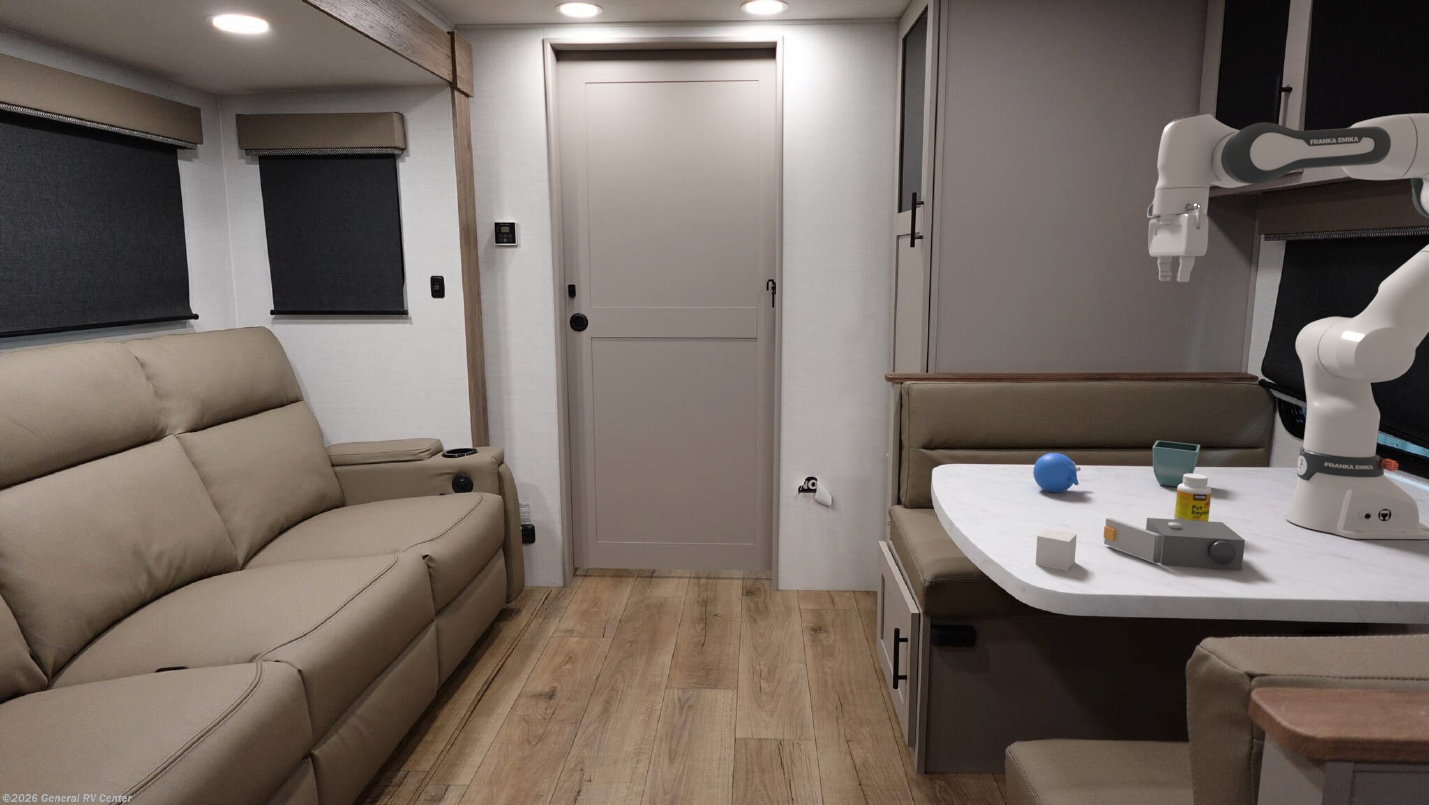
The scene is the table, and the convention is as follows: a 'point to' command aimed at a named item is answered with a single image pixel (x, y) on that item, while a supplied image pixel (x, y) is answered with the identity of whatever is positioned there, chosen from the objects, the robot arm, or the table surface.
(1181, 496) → the supplement bottle
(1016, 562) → the table surface
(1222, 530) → the camera body
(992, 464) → the table surface
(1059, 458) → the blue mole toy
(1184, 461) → the flower pot
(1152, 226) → the robot arm
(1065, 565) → the white cube
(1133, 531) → the side door
